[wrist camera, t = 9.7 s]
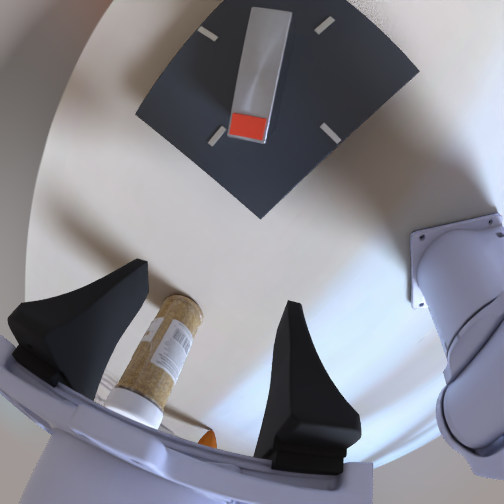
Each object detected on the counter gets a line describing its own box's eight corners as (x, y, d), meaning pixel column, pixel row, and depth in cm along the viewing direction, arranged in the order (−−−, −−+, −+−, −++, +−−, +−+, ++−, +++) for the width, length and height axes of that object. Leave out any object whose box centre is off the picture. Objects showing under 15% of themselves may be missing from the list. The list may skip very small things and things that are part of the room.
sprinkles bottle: (158, 291, 28) (91, 399, 16) (199, 294, 27) (140, 416, 15) (170, 324, 30) (118, 426, 19) (209, 328, 29) (163, 442, 18)
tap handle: (263, 25, 12) (250, 4, 8) (295, 30, 12) (292, 10, 8) (243, 128, 15) (224, 137, 12) (273, 134, 15) (264, 145, 12)
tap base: (280, -28, 11) (275, -47, 9) (403, 74, 14) (421, 71, 11) (155, 110, 18) (133, 114, 16) (266, 203, 21) (260, 220, 18)
